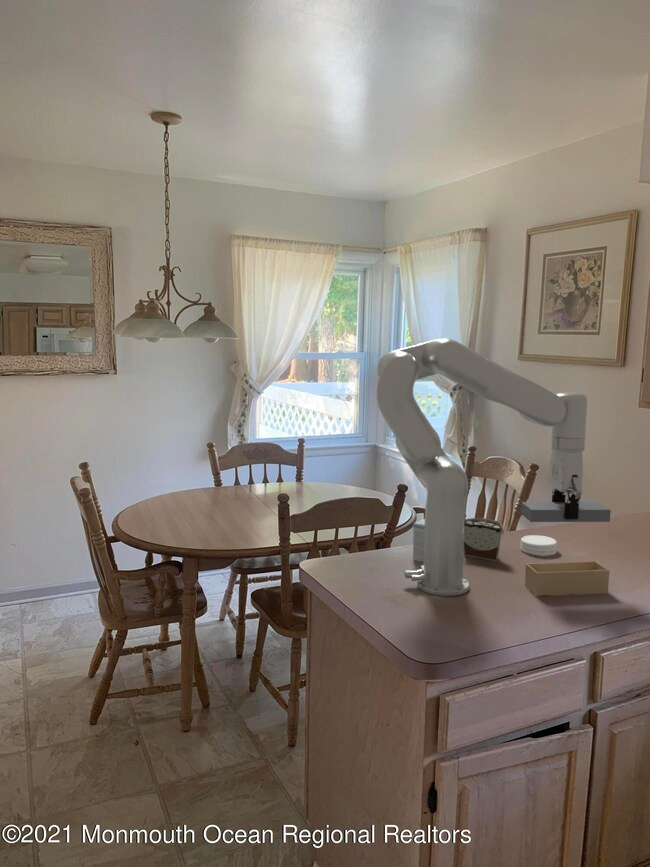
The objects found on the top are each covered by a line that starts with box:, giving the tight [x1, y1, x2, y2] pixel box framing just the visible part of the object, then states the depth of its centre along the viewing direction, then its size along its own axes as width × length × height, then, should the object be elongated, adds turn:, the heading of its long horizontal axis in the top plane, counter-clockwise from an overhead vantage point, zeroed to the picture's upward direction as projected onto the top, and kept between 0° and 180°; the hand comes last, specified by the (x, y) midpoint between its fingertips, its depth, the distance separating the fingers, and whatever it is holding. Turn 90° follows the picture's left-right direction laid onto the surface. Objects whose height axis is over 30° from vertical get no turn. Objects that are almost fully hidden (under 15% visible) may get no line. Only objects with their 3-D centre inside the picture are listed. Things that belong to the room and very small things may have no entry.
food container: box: [464, 517, 505, 562], centre depth 179 cm, size 12×6×10 cm, turn 58°
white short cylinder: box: [520, 534, 558, 557], centre depth 183 cm, size 10×10×4 cm
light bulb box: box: [412, 518, 425, 563], centre depth 177 cm, size 11×7×11 cm, turn 141°
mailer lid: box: [520, 501, 611, 523], centre depth 156 cm, size 19×8×3 cm, turn 91°
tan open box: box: [524, 560, 610, 597], centre depth 154 cm, size 18×6×6 cm, turn 95°
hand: (564, 514), depth 156 cm, fingers closed on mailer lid, 7 cm apart
